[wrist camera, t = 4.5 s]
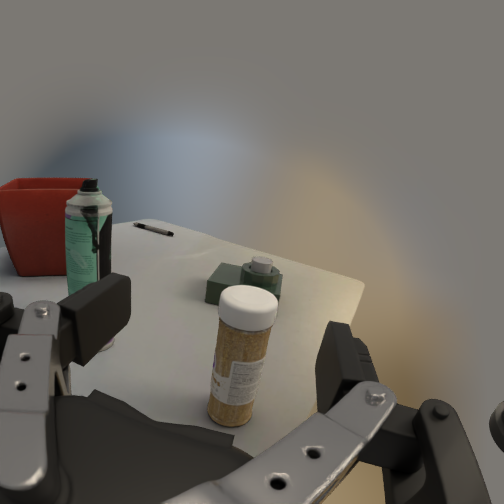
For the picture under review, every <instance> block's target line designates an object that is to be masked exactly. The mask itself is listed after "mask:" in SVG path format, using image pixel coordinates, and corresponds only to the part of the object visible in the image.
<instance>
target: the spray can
mask: <svg viewBox="0 0 504 504" xmlns="http://www.w3.org/2000/svg"><path fill="white" fill-rule="evenodd" d="M97 184H98V179H86V180H84V181H83V183H82V187H80V190H78V192H77V193H78V194H76V195H75V196H74V197H72V198H71V199H69V200H67V202H66V204H67V207H66V209H65V247H66V268H67V282H68V293H69V296H70V295H71V294H73V293H75V292H76V291H78V290H79V289H82V288H83V287H84V286H86V285H88V284H89V283H93V282H96V281H99V280H101V279H102V278H104V277H106V276H107V275H109V274H111V231H112V207H111V205H112V201H111V200H108V199H107V198H106V197H105V196H104V195H102V194H101V193H102V191H101V190H99V187H97ZM113 343H114V337H113V338H112V339H111V340H110V341H109V342H108V343H107V344H106V345H105V346H104V347H103V348H102V349H101V350H100V351H104V350H106V349H108V348H110V347H111V346H112V345H113ZM100 351H99V352H100Z"/></svg>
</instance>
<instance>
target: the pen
mask: <svg viewBox="0 0 504 504" xmlns="http://www.w3.org/2000/svg"><path fill="white" fill-rule="evenodd" d="M133 224H134V225H135V226H137V227H141V228H144V229H148V230H152V231H155V232H159V233H162V234H165V235H169V236H173V235H174V233H172V232H170V231H166V230H162V229H159V228H155V227H151V226H147V225H144V224H140V223H137V222H136V223H133Z"/></svg>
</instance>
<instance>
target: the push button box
mask: <svg viewBox="0 0 504 504" xmlns="http://www.w3.org/2000/svg"><path fill="white" fill-rule="evenodd" d="M250 268H251V262H249V263H245V264H243V266H242V267H241V266H236V265H231V264H226V263H221V264H220V265H219V266H218V268H217V269H216V270H215V271H214V273H213V274H212V275H211V277H210V278H209V279H208V280H207V288H206V297H205V302H208V303H212V304H217V305H219V301H220V296H221V293H222V291H223V290H224V289H226V288H228V287H231V286H236V285H248V286H254V287H258V288H261V289H264V290H266V291H268V292H270V293H272V294H273V295H274V296H275V297H276V299H277V300H278V303H279V298H280V292H281V284H282V276H283V275H282V274H279V272H280V271H279V270H278V269H277V268H276V267H273V266H272V269H271V273H258V272H255V271H252V270H251V269H250Z"/></svg>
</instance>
